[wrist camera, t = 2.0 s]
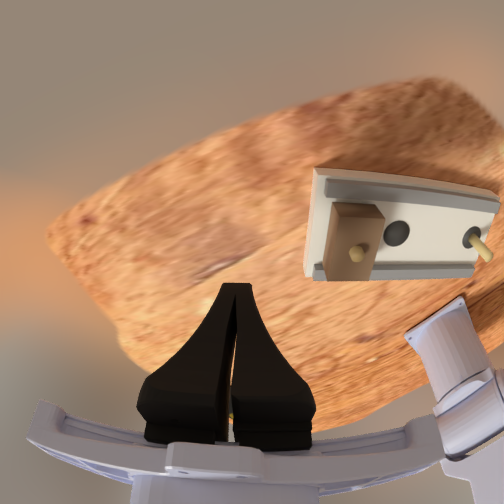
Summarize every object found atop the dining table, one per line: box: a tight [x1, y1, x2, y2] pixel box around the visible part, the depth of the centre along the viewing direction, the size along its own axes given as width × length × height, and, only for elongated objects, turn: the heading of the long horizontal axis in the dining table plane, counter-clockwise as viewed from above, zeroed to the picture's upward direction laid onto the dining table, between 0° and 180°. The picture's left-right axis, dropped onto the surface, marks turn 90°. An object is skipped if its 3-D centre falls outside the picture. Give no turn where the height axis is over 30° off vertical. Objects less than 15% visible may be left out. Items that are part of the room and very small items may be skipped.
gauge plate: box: [303, 167, 501, 281], centre depth 19 cm, size 16×8×4 cm, turn 90°
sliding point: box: [322, 202, 386, 281], centre depth 18 cm, size 3×5×2 cm, turn 0°
